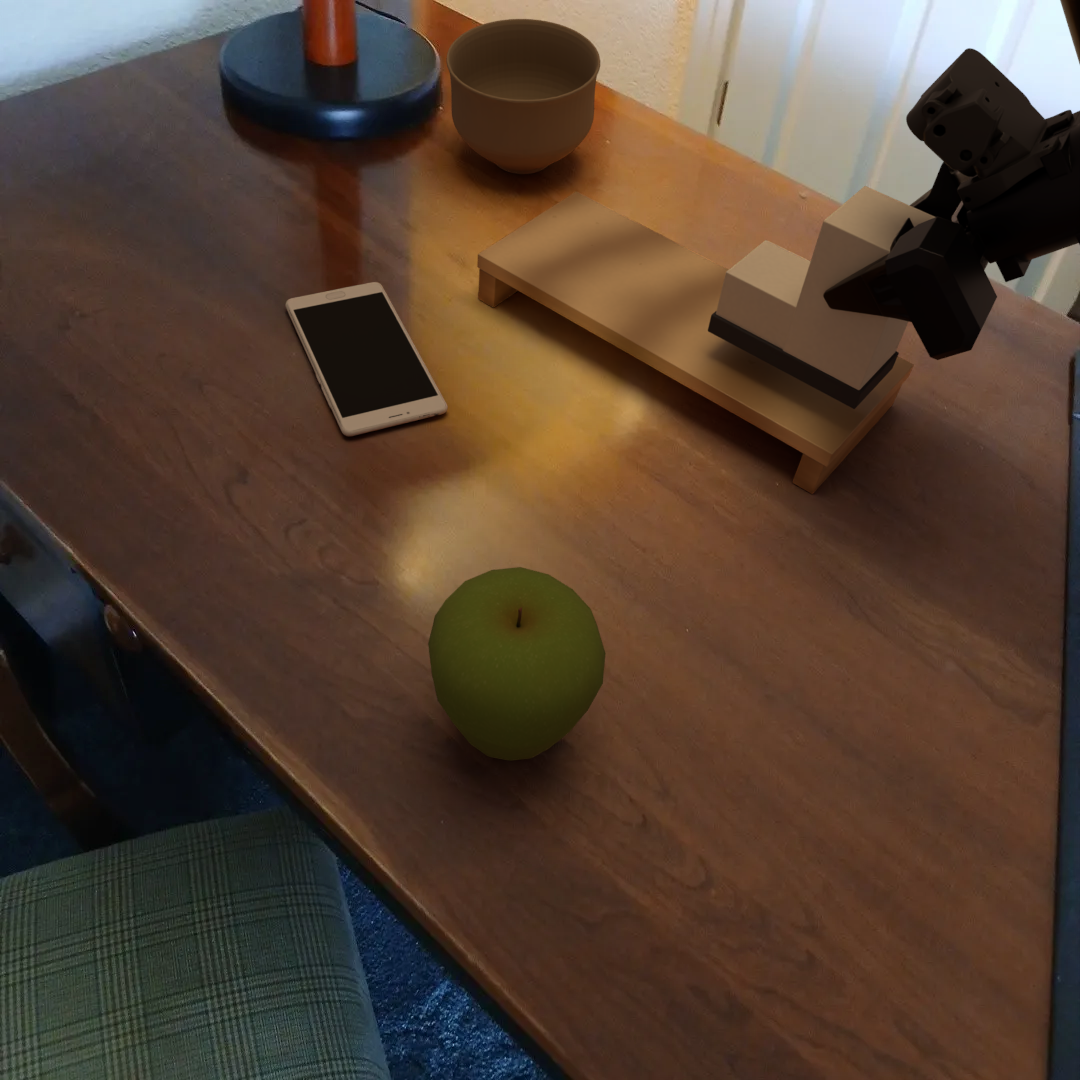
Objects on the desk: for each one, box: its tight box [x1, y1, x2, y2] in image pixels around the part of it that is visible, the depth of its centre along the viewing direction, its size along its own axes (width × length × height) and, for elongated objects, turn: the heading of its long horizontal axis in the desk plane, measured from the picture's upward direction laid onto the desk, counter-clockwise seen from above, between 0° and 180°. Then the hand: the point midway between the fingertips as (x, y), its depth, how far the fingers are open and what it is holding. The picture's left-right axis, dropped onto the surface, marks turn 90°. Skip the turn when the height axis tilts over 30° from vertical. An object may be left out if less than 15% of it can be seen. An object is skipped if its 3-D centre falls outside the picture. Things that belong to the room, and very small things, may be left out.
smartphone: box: [285, 281, 449, 437], centre depth 75 cm, size 8×1×15 cm
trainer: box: [708, 185, 935, 409], centre depth 66 cm, size 11×5×11 cm, turn 51°
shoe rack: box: [476, 190, 915, 495], centre depth 77 cm, size 30×12×4 cm, turn 51°
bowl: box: [445, 18, 601, 175], centre depth 89 cm, size 13×13×10 cm
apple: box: [427, 566, 606, 762], centre depth 52 cm, size 9×8×12 cm
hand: (843, 276), depth 64 cm, fingers closed on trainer, 5 cm apart
